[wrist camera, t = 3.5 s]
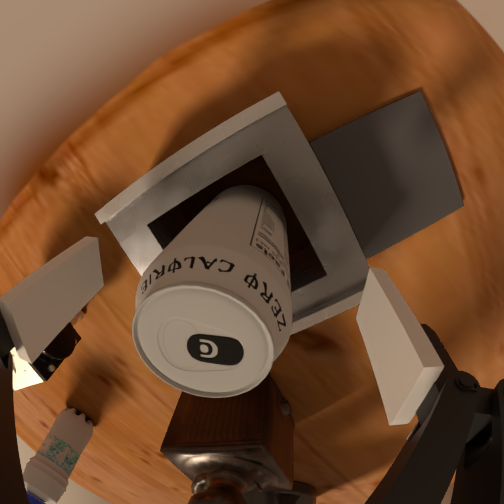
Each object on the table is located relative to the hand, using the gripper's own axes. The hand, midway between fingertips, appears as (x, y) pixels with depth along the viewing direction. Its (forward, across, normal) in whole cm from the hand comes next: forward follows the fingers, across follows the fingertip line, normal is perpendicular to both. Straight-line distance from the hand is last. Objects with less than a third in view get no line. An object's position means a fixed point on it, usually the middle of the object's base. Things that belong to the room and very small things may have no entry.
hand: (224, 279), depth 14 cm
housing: (+10, 0, 0) cm, 10 cm away
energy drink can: (+10, 0, 0) cm, 11 cm away
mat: (+10, -11, -5) cm, 16 cm away
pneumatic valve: (+10, +19, +11) cm, 25 cm away
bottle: (+10, +25, +35) cm, 44 cm away
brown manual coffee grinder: (+10, 0, +20) cm, 22 cm away
